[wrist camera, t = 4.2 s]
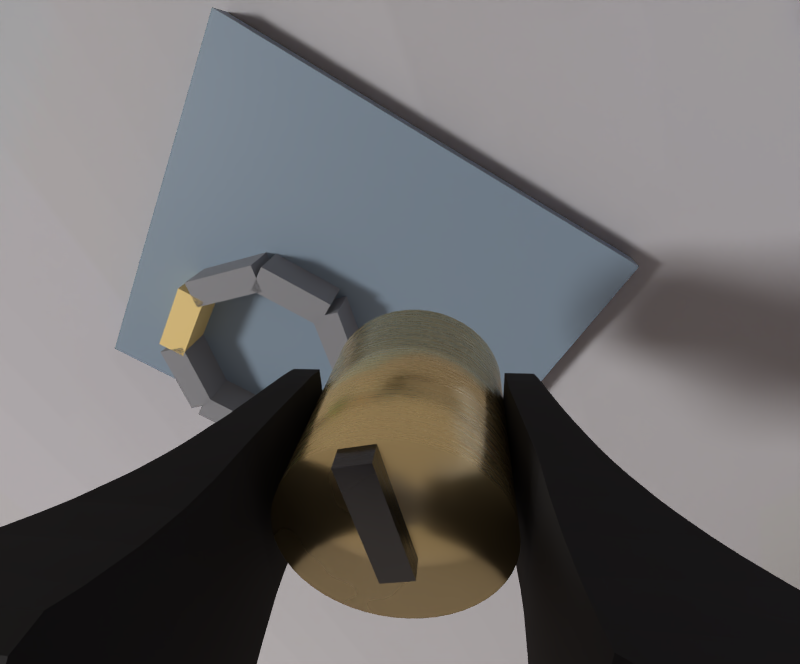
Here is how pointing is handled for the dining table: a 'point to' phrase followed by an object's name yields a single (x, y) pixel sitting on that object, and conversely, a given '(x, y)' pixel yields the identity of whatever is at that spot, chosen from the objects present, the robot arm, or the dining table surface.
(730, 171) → the dining table surface
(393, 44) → the dining table surface
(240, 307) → the blue-grey flat slab
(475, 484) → the knob
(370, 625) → the dining table surface
